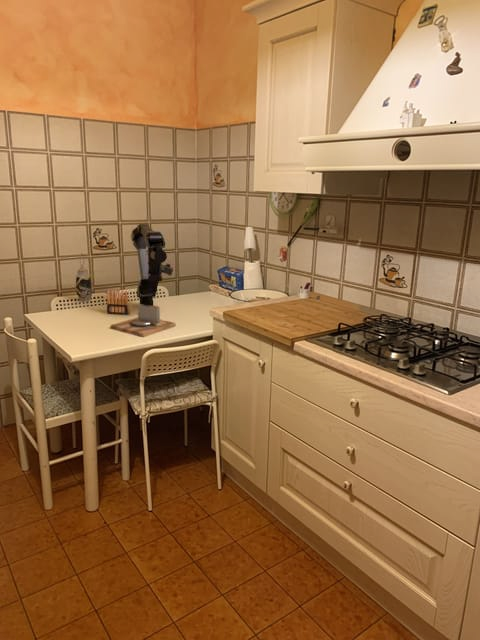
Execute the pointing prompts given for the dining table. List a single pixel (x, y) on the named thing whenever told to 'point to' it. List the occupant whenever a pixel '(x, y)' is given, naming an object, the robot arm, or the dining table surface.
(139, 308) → the dial knob
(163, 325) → the dial plate
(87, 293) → the clear tall bottle
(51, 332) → the dining table surface
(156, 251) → the robot arm
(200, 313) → the dining table surface
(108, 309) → the ammunition clip
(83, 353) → the dining table surface
